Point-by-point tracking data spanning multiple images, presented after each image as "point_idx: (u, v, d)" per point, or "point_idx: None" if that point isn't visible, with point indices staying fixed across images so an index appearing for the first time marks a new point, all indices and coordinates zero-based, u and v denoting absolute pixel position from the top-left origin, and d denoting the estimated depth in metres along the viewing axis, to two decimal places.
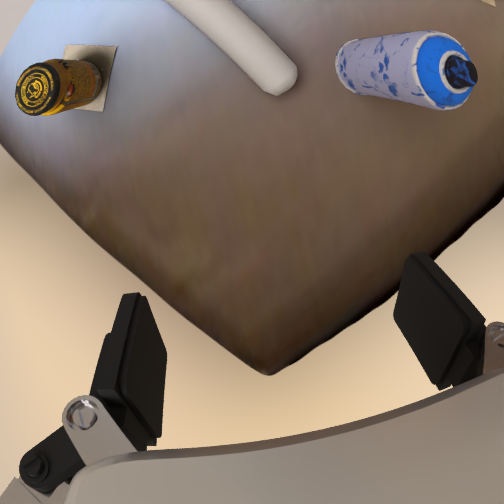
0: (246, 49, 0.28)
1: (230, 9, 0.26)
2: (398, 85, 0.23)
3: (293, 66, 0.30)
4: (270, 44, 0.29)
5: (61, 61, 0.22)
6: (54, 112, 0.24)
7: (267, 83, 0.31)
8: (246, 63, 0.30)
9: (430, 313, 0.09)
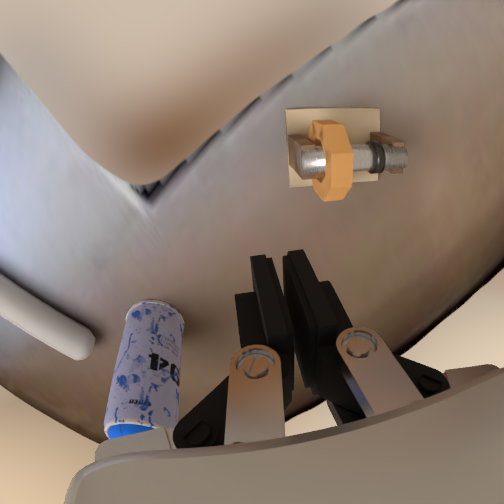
0: (44, 339, 0.34)
1: (19, 311, 0.32)
2: None
3: (82, 343, 0.36)
4: (58, 332, 0.34)
5: None
6: None
7: None
8: None
9: (296, 313, 0.10)
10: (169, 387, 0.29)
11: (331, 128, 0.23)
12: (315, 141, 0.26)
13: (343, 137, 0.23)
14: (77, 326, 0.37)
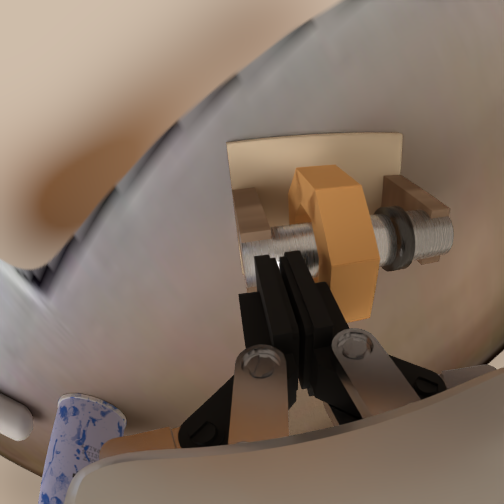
0: None
1: None
2: None
3: (14, 425, 0.23)
4: None
5: None
6: None
7: None
8: None
9: None
10: None
11: (334, 197, 0.11)
12: (302, 208, 0.14)
13: (360, 219, 0.11)
14: (8, 405, 0.24)
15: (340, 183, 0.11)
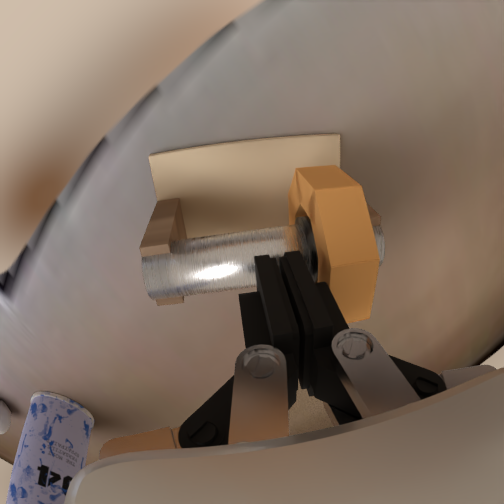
0: None
1: None
2: None
3: None
4: None
5: None
6: None
7: None
8: None
9: None
10: None
11: (334, 198, 0.11)
12: (302, 209, 0.14)
13: (360, 220, 0.11)
14: None
15: (340, 183, 0.11)
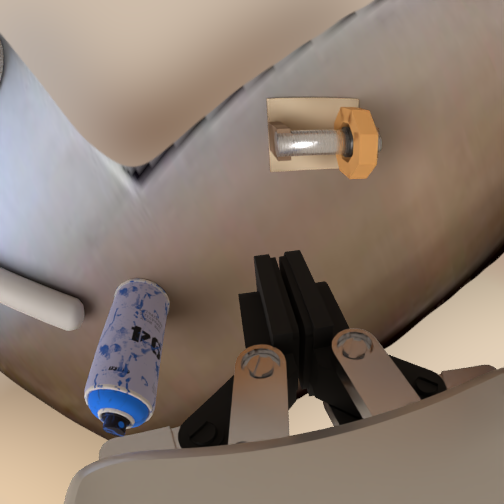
0: (36, 315, 0.36)
1: (10, 292, 0.34)
2: None
3: (69, 310, 0.37)
4: (45, 303, 0.35)
5: None
6: None
7: None
8: None
9: None
10: (149, 358, 0.30)
11: (359, 113, 0.25)
12: (343, 125, 0.28)
13: (369, 121, 0.25)
14: (64, 296, 0.38)
15: (360, 110, 0.25)
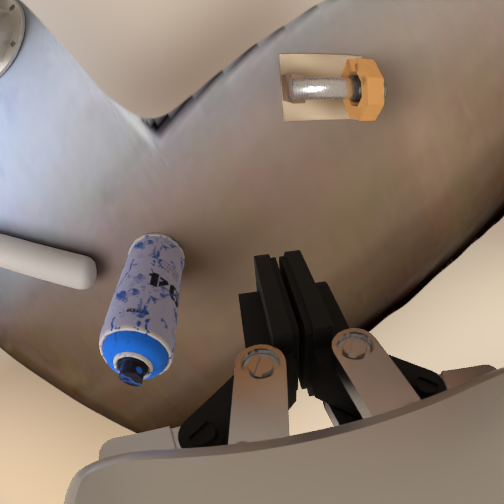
0: (47, 277, 0.36)
1: (19, 255, 0.34)
2: None
3: (80, 266, 0.37)
4: (56, 262, 0.36)
5: None
6: None
7: None
8: None
9: None
10: (167, 302, 0.31)
11: (364, 61, 0.25)
12: (350, 75, 0.29)
13: (374, 67, 0.25)
14: (75, 254, 0.38)
15: (365, 59, 0.26)
